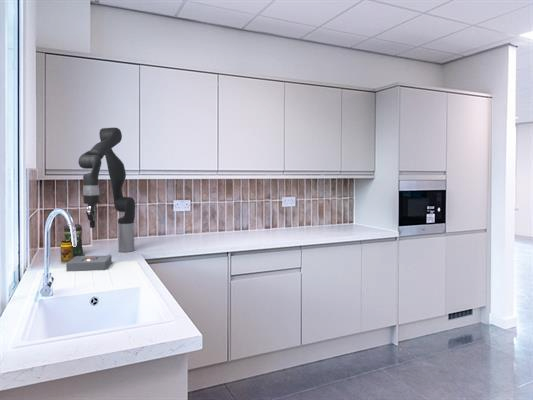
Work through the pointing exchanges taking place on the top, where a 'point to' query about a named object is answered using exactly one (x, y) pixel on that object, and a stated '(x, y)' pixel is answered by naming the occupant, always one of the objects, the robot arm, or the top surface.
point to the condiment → (66, 251)
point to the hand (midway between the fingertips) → (92, 227)
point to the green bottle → (78, 249)
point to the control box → (88, 263)
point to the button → (89, 258)
